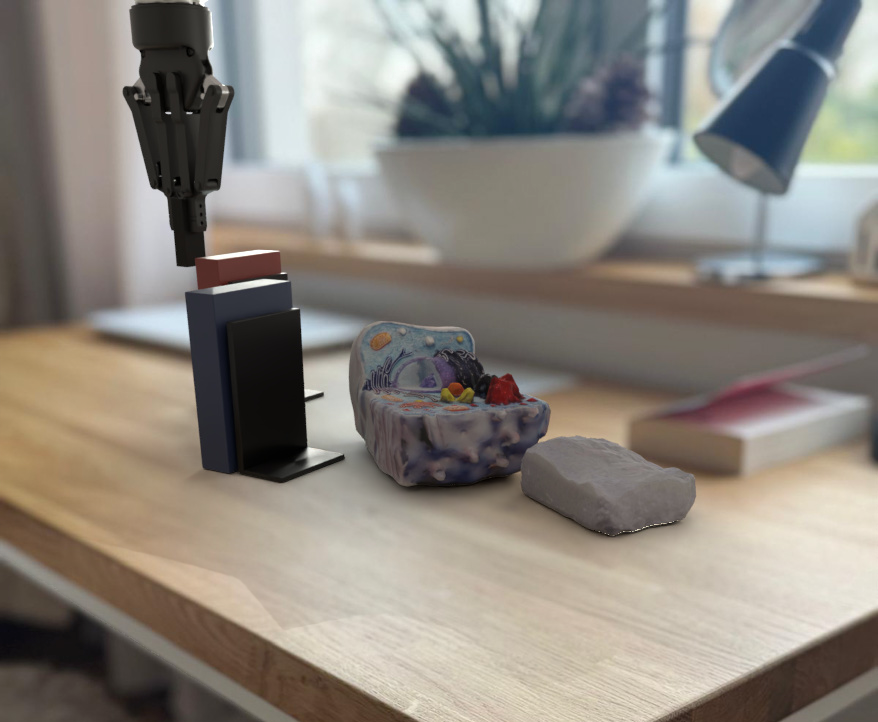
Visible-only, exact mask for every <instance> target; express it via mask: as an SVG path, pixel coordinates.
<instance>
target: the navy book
mask: <svg viewBox="0 0 878 722" xmlns="http://www.w3.org/2000/svg"><path fill="white" fill-rule="evenodd" d="M184 297H185V298H184V299H185V300H184V301H185V309H186V318H187V328H188V329H187V330H188V337H189V348H190V349H189V350H190V357H191V368H192V379H193V388H194V397H195V407H196V416H197V417H196V418H197V428H198V438H199V445H200V447H199V448H200V456H201V466H202V469H205V470H210V471H215V472H220V473H225V474H232V473H235V472H238V460H237V447H236V435H235V422H234V410H233V397H232V385H231V373H230V360H229V348H228V335H227V322H228V321H233V320H238V319H243V318H248V317H253V316H258V315H263V314H268V313H273V312H278V311H283V310H287V309H292V308H294V306H293V291H292V281H291V280H288V281H284V280H271V279H260V280H254V281H248V282H242V283H236V284H230V285H224V286H218V287H212V288H206V289H200V290H198V289H195V290H189V291H185V292H184Z"/></svg>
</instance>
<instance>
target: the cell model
mask: <svg viewBox="0 0 878 722" xmlns="http://www.w3.org/2000/svg"><path fill="white" fill-rule="evenodd" d="M475 353H476V341H475V339H474V336H473V335H472V334H471V333H470V331H469V330H467V329H466V328H463V327H458V326H453V325H452V326H450V325H449V326H447V325H445V326H425V325H424V326H423V325H415V324H411V323H405V322H399V321H390V320H389V321H388V320H383V321H382V320H379V321H374V322H372V323H370V324H368V325H366V326H364V327H363V328H362V329H361V330H360V332H359V333H358V334H357V336H356V337H355V338H354V340H353V341H352V345H351V349H350V353H349V354H350V355H349V360H348V361H349V363H348V391H349V397H350V402H351V407H352V411H353V418H354V419H353V421H354V427H355V430H356V432H357V433H358V435H359V436H360V437H361V438H362V439H363V440H364V446H365V447H366V449H367V450H368V451H369V453H370V454H371V455H372V458H373V461H374V463H375V464H376V465H377V468H378V469H379V470H380V471H381V472H382V473H383V474H386V475H389V476H390V477H391V478H393V480H395V482H396V483H397V484H398V485H400V486H403V487H409V488H410V487H412V486H432V487H452V486H457V487H459V486H468V485H469V486H470V485H473V484H476V483H479V482H481V481H483V480H487V479H493V478H503V477H508V476H512V475H514V474H517V473H519V472H520V473H521V464H522V461H521V460H522V459H523V457H524V454H525V452H526V450H527V449H528V448H531V447H532V446H534V445H535V444H537V443H539V441H540V439H543V438H544V437H545V436H547V432H548V430H549V425H550V419H551V413H552V410H551V406H550V404H549V403H548V402H547V401H545V400H543V399H540V398H538V397H535V396H532V395H530V394H527V393H523V392H522V393H521V391H520V388H519V386H518V384H517V383H516V381H515V378H514V377H513V374H511V373H508V372H506V373H505V374H503V375H501V376H500V377H499V376H498V375H496V374H490V373H485V369H484V366H483V364H482V363H481V361H480V360H479V358H478V357H477V356H476V354H475Z"/></svg>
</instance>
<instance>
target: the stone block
mask: <svg viewBox="0 0 878 722" xmlns="http://www.w3.org/2000/svg"><path fill="white" fill-rule="evenodd" d="M521 461H522V464H521V471H520V473H521V476H520V489H521V491H522V493H524V495H526V496H527V497H529V498H531V499H532V500H534V501H536V502H538V503H540V504H542V505H544V506H545V507H547V508H549V509H550V510H554V511H555V512H557V513H558V514H560V515H562V516H563V517H566V518H569V519H572V520H573V521H575V522H576V523H577V524H579V525H580V526H582V527H583V528H586V529H588V530H590V531H594V530H595V531H594V532H597V531H600V532H602V533H601V534H603V533H606V534H609V535H616V534H618V533H620V532H623V531H631V532H630V533H633V532H632V531H635V530H637V529H642V528H643V527H646V526H650V525H654V524H661V523H669V522H673V521H677V520H679V521H682V520H683V519H685V518H686V516H687V515H688V513H689V512H690V510H691V509H692V507H693V506H694V504H695V502H696V498H697V486H696V478H695V475H694V474H692V473H690V472H686V471H683V470H681V469H680V468H678V467H675V466H673V467H666V468H663V467H661V466H660V465H658V464H656V463H653V462H651V461H649V460H646V459H645V458H644V457H643V456H642V455H640V454H638V453H637V452H635V451H633V450H631V449H627V447H624V446H622V445H620V444H619V443H617V442H613V441H611V440H608V439H606V438H596V437H587V436H581V435H574V436H564V435H562V436H557V437H554V438H550V439H547V440H544V441H540V442H539V441H538V443H537V444H535V445H534V446H532V447H531V448H528V449H527V450H526V452H525V454H524V457H523V459H522V460H521ZM677 522H678V521H677ZM642 530H643V529H642ZM600 532H599V533H600ZM618 535H619V534H618ZM616 536H617V535H616Z"/></svg>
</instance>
